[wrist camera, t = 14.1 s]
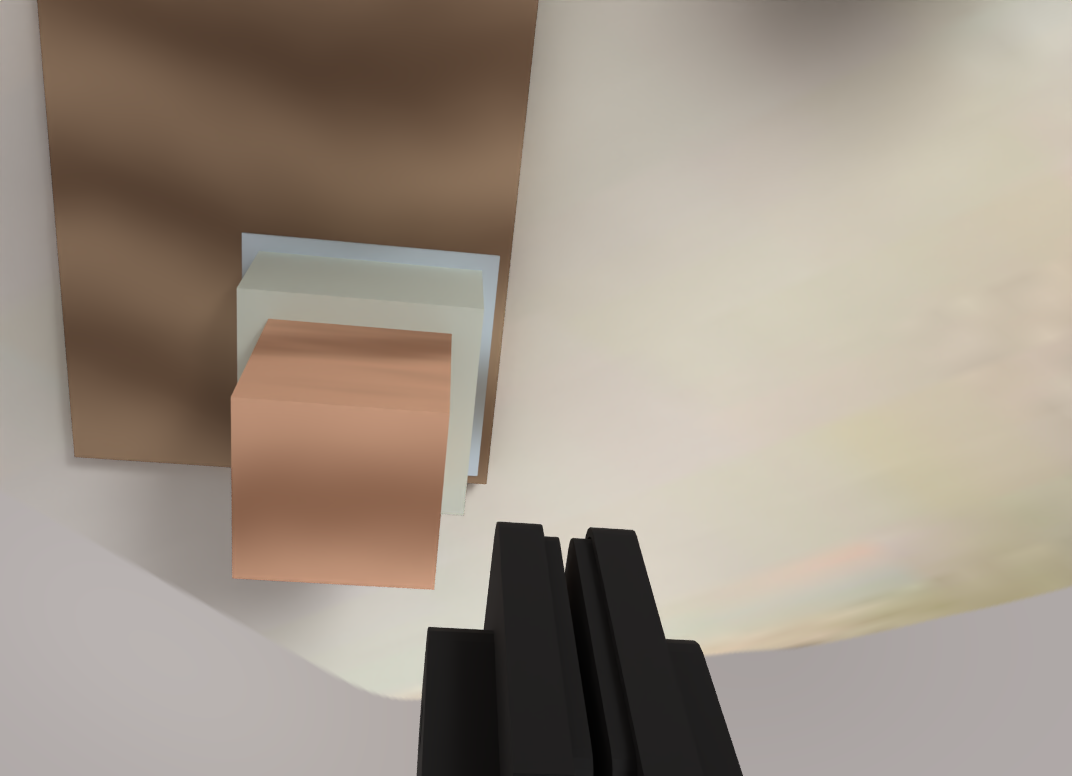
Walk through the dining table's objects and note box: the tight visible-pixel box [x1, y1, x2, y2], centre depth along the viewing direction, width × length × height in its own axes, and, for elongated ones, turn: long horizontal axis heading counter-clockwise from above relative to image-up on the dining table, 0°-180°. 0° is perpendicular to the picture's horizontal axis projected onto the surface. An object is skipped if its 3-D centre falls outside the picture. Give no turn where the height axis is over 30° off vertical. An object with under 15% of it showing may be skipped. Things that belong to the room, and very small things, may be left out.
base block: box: [237, 251, 484, 516], centre depth 37 cm, size 8×8×4 cm
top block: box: [231, 319, 452, 590], centre depth 32 cm, size 6×6×6 cm
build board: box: [37, 0, 538, 484], centre depth 37 cm, size 20×16×1 cm
